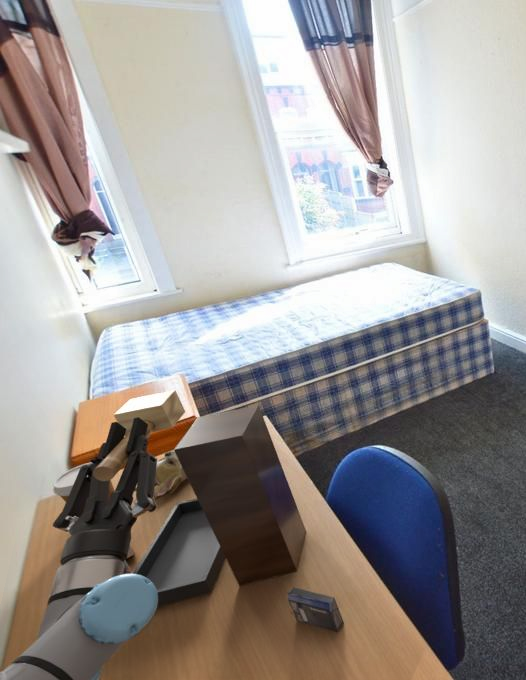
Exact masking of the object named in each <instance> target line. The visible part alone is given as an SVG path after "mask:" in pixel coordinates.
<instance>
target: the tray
mask: <svg viewBox="0 0 526 680" xmlns="http://www.w3.org/2000/svg"><path fill="white" fill-rule="evenodd" d="M226 560H227V559H226V557H225V555H224V553H223V551H222V549H221V547H220V545H219V543H218V541H217V539H216V536H215V534H214V532H213V530H212V528H211V526H210V524H209V522H208V520H207V518H206V516H205V514H204V512H203V509H202V507H201V505H200V503H199V501H198V499H197V497H195V498H193V499H187V500H184V501H179V502H176V503H175V505H174V506H173V508H172V510H171V511H170V513H169V515H168V516H167V518H166V519H165V521H164V522H163V524H162V526H161V527H160V528H159V530H158V532H157V533H156V535H155V537H154V538H153V539H152V542H151V543H150V544H149V546H148V548H147V550H146V551H145V553H144V554H143V556H142V558H141V559H140V561H139V562H138V564H137V565H136V567H135V569H134V570H133V571H132V574H138V575H142V576H144V577H146V578H148V579H149V580H150V581H151V582H152V583H153V584H154V586H155V587H156V590H157V593H158V604H157V608H158V607H161V606H165V605H169V604H173V603H177V602H180V601H184V600H188V599H192V598H195V597H200V596H203V595H208V594H211V593H213V590H214V588H215V585H216V583H217V581H218V578H219V575H220V573H221V571H222V569H223V566H224V563H225V561H226Z"/></svg>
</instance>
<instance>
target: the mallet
mask: <svg viewBox="0 0 526 680" xmlns="http://www.w3.org/2000/svg"><path fill="white" fill-rule="evenodd" d="M185 413H186V409H185V407H184V406H183V404H182V401H181V399H180V396H179V395H178V393H177V391H176V390H175V389H174V390H169V391H164V392H158V393H154V394H149V395H144V396H138V397H134V398H130V399H129V400H127V401H126V403H124V404H123V405H122V406H121V407H120V408H119V409H118V410H117V411H116V412H115V413H114V414H113V417H114V418H115V421H116V422H118V423H119V424H120V425H122V426H123V427H124V428H126V432H125V436H124V438H123V439H122V441H121V442H120V443H119V444H118V445H117V446H116V447H115V448H114V449H113V450H112V451H111V452H110V453H109V454H108V455H107V456H106V458H105V459H104V460H103V461H102V462H101V463H100V464H99V465H98V466H97V467H96V468H95V469H94V471H93V476H94V477H95V478H96V479H98V480H100V481H109V480H111V481H112V480H113V479H114V477H115V476H117V474H118V473H119V471H120V470H121V469H122V468H123V467H125V465H126V463H127V460H128V458H129V454H127V453H126V452H125V451H126V448H127V444H128V440H129V436H130V432H131V428H132V424H133V420H134V418H137V417H139V418H140V419H142V420H143V421H144V422H146V423H147V424H148V427H147V432H146V436H145V437H147V438H148V439H149V437H150V436H151V434H153V433H154V432H159V431H163V430H169V429H173V428H174V427H175V426H176V424H177V423H178V422H179V421H180V419H181V418H182V416H184V414H185Z"/></svg>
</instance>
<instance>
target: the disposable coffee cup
mask: <svg viewBox="0 0 526 680" xmlns="http://www.w3.org/2000/svg"><path fill="white" fill-rule="evenodd" d="M91 464H93V463H92V462H90V461H89V462H87V463H83V464H80V465H78V466H77V465H76V466H74V467H73V468H71V469H69V470H67V471H65V472H64V473H62V474H61V475H60V476H58V477H57V478H56V479H55V480H54V481H53V484H52V487H53V489H52V493H54V494H55V495H57V496H59V497H60V498H61V499H62V500H63V501H64V502H65V503H66V501H67V499H68V497H69V494H70V492H71V489H72V487H73V485H74V482H75V480H76V478H77V475H78V473H79V470H80V468H81V467H82V466H84V465H91ZM87 476H88V475H87ZM114 491H115V488H114V485H113V482H112V479H111V480H110V484H109V494H108V500H109V498H110V495H111V493H112V492H114ZM84 512H85V509H84V511H83V513H84ZM83 513H82V514H83Z"/></svg>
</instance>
